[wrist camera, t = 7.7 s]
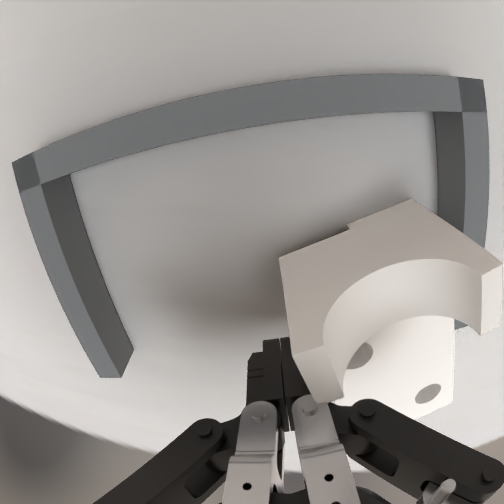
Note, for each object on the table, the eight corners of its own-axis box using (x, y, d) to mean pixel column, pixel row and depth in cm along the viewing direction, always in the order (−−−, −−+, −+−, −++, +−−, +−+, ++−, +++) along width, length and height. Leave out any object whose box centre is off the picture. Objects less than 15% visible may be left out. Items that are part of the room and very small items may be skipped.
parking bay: (41, 153, 13) (11, 162, 11) (453, 81, 12) (482, 79, 9) (113, 350, 18) (100, 377, 16) (450, 301, 16) (470, 325, 14)
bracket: (277, 249, 16) (291, 355, 9) (408, 197, 14) (503, 263, 7) (342, 404, 20) (362, 494, 13) (433, 367, 19) (474, 447, 12)
